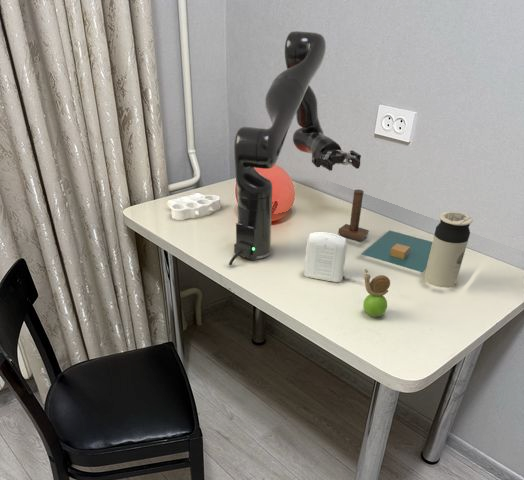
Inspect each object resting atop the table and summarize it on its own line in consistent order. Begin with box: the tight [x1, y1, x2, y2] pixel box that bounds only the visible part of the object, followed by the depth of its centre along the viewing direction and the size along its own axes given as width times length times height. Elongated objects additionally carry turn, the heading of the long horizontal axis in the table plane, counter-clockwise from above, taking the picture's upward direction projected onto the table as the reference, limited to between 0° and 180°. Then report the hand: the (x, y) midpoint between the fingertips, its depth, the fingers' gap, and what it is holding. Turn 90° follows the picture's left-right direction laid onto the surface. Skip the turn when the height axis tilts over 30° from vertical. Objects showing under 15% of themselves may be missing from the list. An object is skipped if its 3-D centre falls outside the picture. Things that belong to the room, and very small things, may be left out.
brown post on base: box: [337, 189, 370, 243], centre depth 144 cm, size 5×8×15 cm, turn 55°
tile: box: [361, 229, 433, 273], centre depth 142 cm, size 20×18×1 cm
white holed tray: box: [166, 192, 222, 221], centre depth 164 cm, size 3×18×15 cm
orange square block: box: [390, 244, 410, 259], centre depth 138 cm, size 4×4×2 cm
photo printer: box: [303, 231, 348, 283], centre depth 127 cm, size 10×4×12 cm, turn 73°
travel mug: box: [423, 211, 473, 288], centre depth 123 cm, size 8×8×18 cm
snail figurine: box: [362, 268, 391, 317], centre depth 113 cm, size 5×6×12 cm
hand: (345, 166), depth 146 cm, fingers open, 8 cm apart
